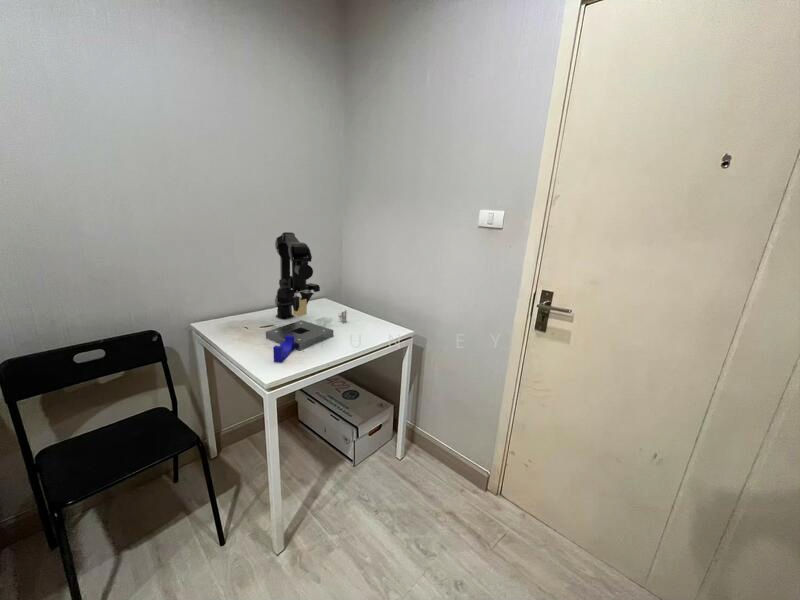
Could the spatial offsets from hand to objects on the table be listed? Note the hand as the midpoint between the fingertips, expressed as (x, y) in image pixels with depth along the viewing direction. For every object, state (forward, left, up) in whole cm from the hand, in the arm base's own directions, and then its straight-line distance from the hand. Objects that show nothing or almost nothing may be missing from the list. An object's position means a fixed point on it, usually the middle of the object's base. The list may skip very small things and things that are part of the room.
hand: (299, 310), depth 141 cm
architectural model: (-23, -2, -13) cm, 26 cm away
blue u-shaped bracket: (+16, +8, -13) cm, 22 cm away
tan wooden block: (0, 0, -2) cm, 2 cm away
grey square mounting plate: (0, 0, -12) cm, 13 cm away
